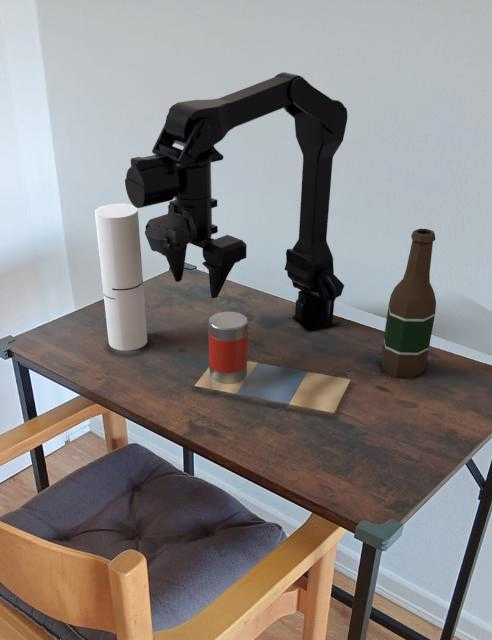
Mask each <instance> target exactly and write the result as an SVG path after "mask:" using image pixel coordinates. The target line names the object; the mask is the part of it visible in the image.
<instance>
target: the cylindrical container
mask: <svg viewBox="0 0 492 640" xmlns="http://www.w3.org/2000/svg"><path fill="white" fill-rule="evenodd" d="M94 218H95V228H96V237H97V238H96V239H97V247H98V255H99V256H98V257H99V265H100V274H101V275H100V276H101V282H102V292H103V302H104V303H103V304H104V310H105V311H104V312H105V321H106V329H107V331H106V332H107V339H108V345H109V346H110V347H111V349H114V350H116V351H117V350H118V351H122V352H123V351H125V352H127V351H135V350H138V349H141V348H143V347H145V346H146V345H147V344H148V332H147V331H148V330H147V316H146V304H145V289H144V277H143V275H144V274H143V261H142V260H143V259H142V247H141V237H140V235H141V233H140V220H139V219H140V218H139V208H136V207H135V206H134V205H133V204H130V203H123V202H122V203H119V202H118V203H108V204H103V205H101V206H98V207H96V209H94Z"/></svg>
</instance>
